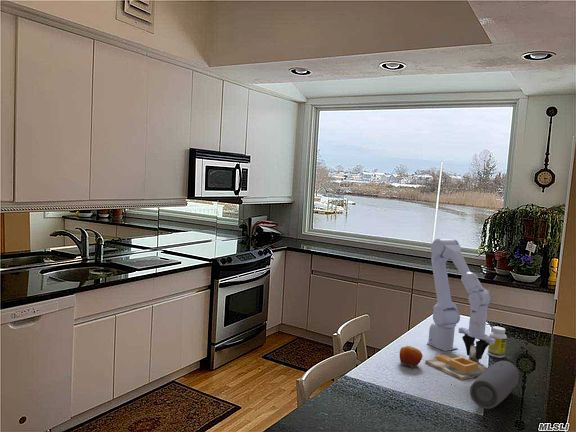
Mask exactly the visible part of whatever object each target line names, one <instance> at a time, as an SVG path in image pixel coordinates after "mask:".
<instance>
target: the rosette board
mask: <svg viewBox="0 0 576 432" xmlns="http://www.w3.org/2000/svg"><path fill="white" fill-rule="evenodd" d="M446 356H448V357H451V358H453V359H454V358H458V357H461V356H459V355H457V354H455V353H454V354H447V355H446ZM424 363H425V364H427V365H428V366H430V367H432V368H436V369H437V370H440V371H442V372H443V373H446V374H448V375H450V376H452V377H454V378H457V379H459V380H461V381H464V380H469V379H471V378H475V377H478V376H479V375H480V374H481V373H483V372H484V371H485V370H486V369H487V368H488V367H487V366H486V367H485V366H484V365H481V364H479V363H478V369H477V370H475V371H471V372H468V373H464V372H461V371H459V370H457V369H455V368H453V367H450V366H449V364H448V363H445V362H442V361H440V360H438V359H436V357H435V358H430V359H426V360H425V362H424Z"/></svg>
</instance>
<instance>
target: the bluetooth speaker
mask: <svg viewBox="0 0 576 432" xmlns="http://www.w3.org/2000/svg"><path fill="white" fill-rule="evenodd" d="M486 368H487V369H486V370H485V371H484V372H483V373H481V374H480V375H479V376H476V378H475V380H474V381H473V383H471V386H470V388H469V394H470V398H471V400H472V401H473V403H475V404H476V406H478V407H480V408H483V409H487V410H490V409H491V410H492V409H494V408H495V407H497V406H498V405H500V404H501V403H502V402H503V401H504V400H505V399H506V398H507V397H508V396H510V395H511V393H512V391H513V390H514V389H515V387H516V385H517V384H518V382H519V379H520V373H519V370H518V368H517V367H516V366H515V364H513V363H512V362H511V361H509V360H499V361H496V362H495V363H493V364H491V365H490V366H489V367H486Z"/></svg>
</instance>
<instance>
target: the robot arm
mask: <svg viewBox="0 0 576 432" xmlns="http://www.w3.org/2000/svg"><path fill="white" fill-rule="evenodd" d="M430 251H431V259H430V261H431V268H432V273H433V274H432V275H433V282H434V288H435V295H436V303H435V305H433V307H432V310H433V313H432V320H433V322H432V323H431V324H430V326H429V330H428V339H427V340H428V341H427V342H426V344H427V345H430V346H432V347H433V348H436V349H439V350H441V351H444V352H447V351H451V350H452V351H453V350H457V349H458V347H457V345H456V346H455V345H454V341H455V340H454V339H455V331H456V327H457V324H459V322H460V321H461V313H460V311H458V307H457V305H456V303H454V302H453V301H452V295H451V290H450V289H451V288H450V282H449V277H448V270H447V262H448V261H449V259H450V260H451V262H452V263H453V264H454V266H455V268H456V269H457V270H458V272H459V273H460V275H461V279H460V281H461V283H462V284H463V286H464V288H465V290H466V292H467V294H468V295H469V296H468V297H467V299H468V303H469V308H470V312H469V313H470V314H469V323H468V328H466V327H458V331H457V332H458V333H459V334H463V335H464V336H461V339H462V341H463V344H464V345H465V350H466V355H467V356H468V357H469V352H470V344H476V346H477V355H476V358H477V359H478V360H479V361H480V360H481V359H482V358H483V355H484V353H485V350H486V349H488V346H489V344H490V345H493V344H495V339H493V338H491V337H489V336H490V335H488V334H486V325H487V317H488V315H487V314H488V307H489V305H490V304H492V300H493V299H492V294H491V292H490V291H489V290H487V289H486V288H485V287H483V286H482V283H481V281H480V280H479V279H478V278H479V277H478V275H477V274H475V272H472V271H470V268H469V266H468V264H467V262H466V259H465V258H464V256H463V254H462V246H461V245H460V243H459V241H458V240H457V239H456V238H436V239H434V240H433V241H432V243H431V245H430ZM476 339H477V340H476Z"/></svg>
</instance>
